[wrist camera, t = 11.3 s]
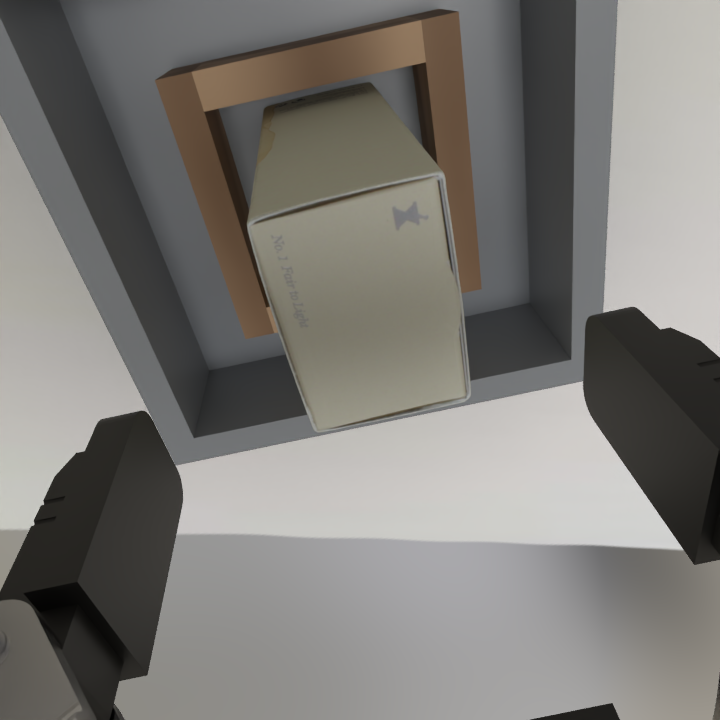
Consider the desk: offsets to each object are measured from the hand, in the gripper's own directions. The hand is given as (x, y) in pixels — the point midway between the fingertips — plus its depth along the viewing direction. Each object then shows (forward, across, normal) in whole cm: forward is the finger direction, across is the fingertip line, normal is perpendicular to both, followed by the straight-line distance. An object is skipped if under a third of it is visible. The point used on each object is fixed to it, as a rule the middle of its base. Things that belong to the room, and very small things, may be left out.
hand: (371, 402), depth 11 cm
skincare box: (+15, 0, 0) cm, 16 cm away
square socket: (+16, 0, 0) cm, 16 cm away
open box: (+16, 0, 0) cm, 16 cm away
